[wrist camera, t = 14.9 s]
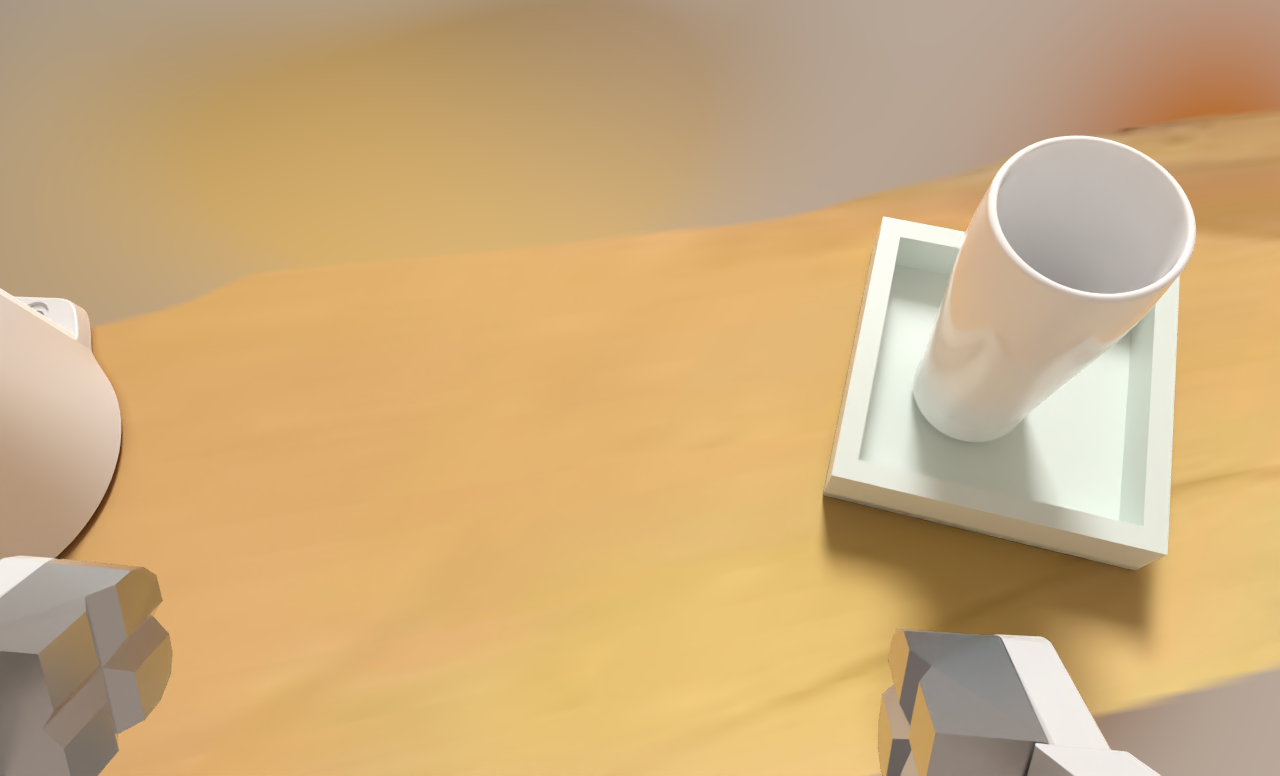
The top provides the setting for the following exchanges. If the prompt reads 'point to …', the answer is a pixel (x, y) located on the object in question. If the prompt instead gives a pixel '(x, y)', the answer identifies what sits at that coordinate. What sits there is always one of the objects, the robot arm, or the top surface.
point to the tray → (1028, 455)
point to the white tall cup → (1049, 280)
